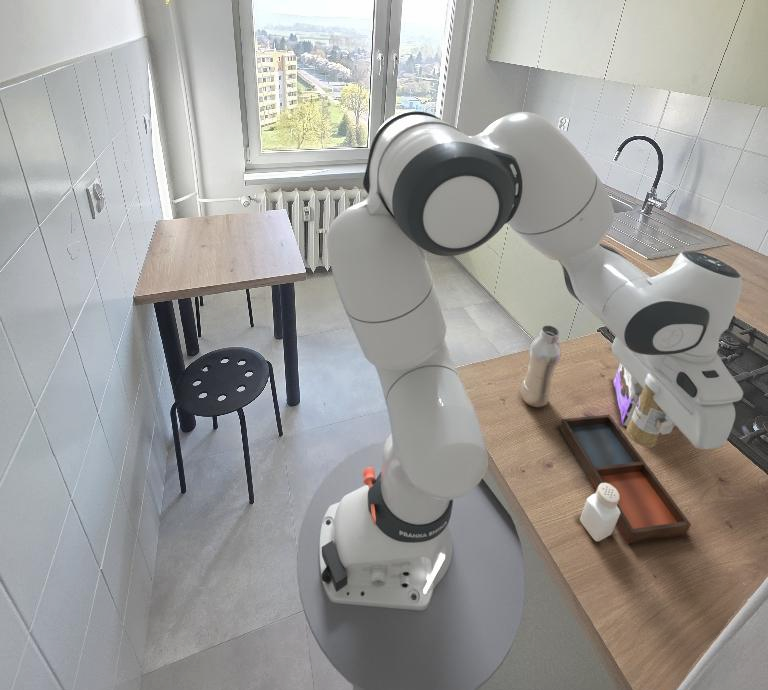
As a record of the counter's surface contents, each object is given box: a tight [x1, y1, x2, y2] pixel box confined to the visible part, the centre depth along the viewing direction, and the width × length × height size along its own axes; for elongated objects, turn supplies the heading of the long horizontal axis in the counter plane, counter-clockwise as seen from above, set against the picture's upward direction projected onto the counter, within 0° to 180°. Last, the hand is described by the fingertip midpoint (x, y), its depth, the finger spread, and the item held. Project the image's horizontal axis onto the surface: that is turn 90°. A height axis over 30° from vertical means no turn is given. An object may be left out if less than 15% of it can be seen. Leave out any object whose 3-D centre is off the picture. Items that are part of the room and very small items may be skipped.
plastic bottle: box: [520, 324, 562, 408], centre depth 93 cm, size 6×7×20 cm
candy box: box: [613, 362, 637, 427], centre depth 93 cm, size 14×6×16 cm, turn 161°
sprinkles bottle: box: [626, 374, 666, 448], centre depth 69 cm, size 5×5×13 cm
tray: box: [559, 414, 692, 545], centre depth 80 cm, size 11×22×3 cm, turn 8°
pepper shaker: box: [579, 483, 620, 542], centre depth 70 cm, size 4×4×10 cm
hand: (649, 415), depth 69 cm, fingers closed on sprinkles bottle, 4 cm apart
